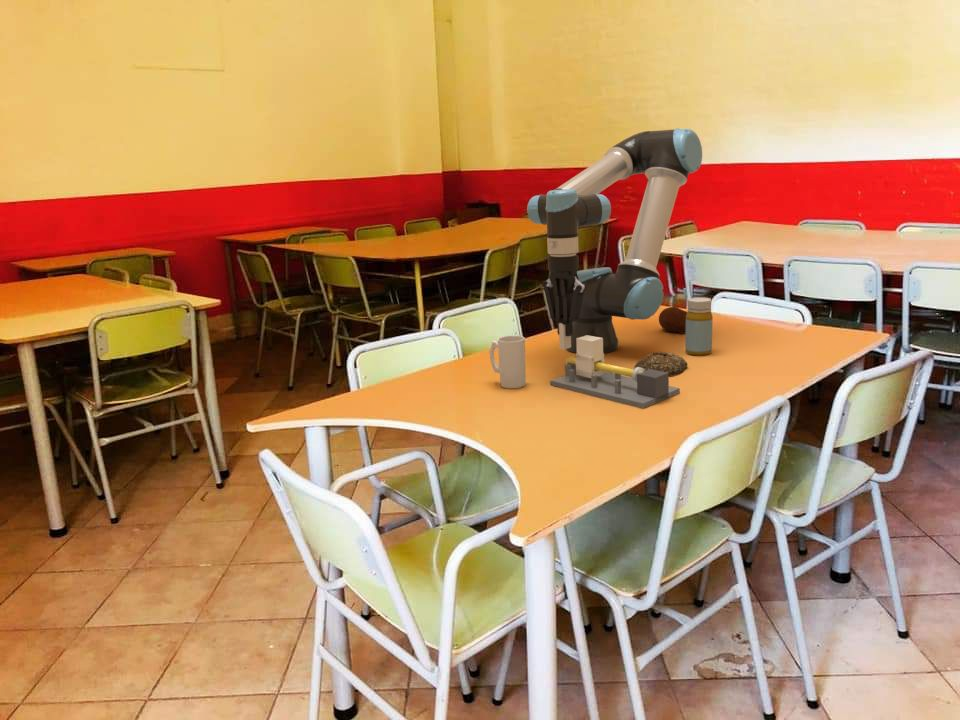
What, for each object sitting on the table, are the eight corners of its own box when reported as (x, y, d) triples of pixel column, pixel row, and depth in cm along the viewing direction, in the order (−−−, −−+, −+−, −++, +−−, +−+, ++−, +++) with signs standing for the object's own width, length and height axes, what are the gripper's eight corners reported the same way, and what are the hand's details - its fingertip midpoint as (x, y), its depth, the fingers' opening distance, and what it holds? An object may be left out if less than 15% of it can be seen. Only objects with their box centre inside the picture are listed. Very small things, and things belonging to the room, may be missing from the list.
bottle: (683, 355, 204) (684, 301, 201) (686, 349, 211) (687, 296, 207) (710, 356, 202) (711, 302, 198) (712, 350, 208) (714, 297, 204)
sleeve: (576, 374, 184) (575, 338, 182) (588, 370, 187) (588, 334, 185) (591, 378, 181) (591, 341, 178) (604, 373, 184) (604, 337, 181)
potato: (687, 336, 224) (687, 310, 222) (652, 332, 232) (652, 307, 230) (697, 331, 230) (698, 306, 228) (663, 327, 237) (663, 303, 235)
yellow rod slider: (550, 385, 185) (549, 359, 184) (587, 372, 194) (586, 347, 192) (643, 408, 165) (643, 379, 163) (679, 393, 174) (680, 365, 172)
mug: (531, 383, 188) (530, 337, 185) (517, 390, 183) (514, 343, 179) (499, 378, 194) (496, 333, 190) (483, 385, 188) (481, 339, 185)
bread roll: (693, 368, 193) (694, 349, 192) (669, 380, 185) (669, 361, 183) (650, 361, 202) (650, 343, 201) (625, 372, 193) (625, 354, 192)
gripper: (533, 254, 184) (536, 347, 191) (573, 258, 175) (575, 355, 181) (553, 251, 189) (556, 341, 195) (593, 254, 180) (595, 348, 186)
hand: (565, 347), depth 188 cm, fingers closed
